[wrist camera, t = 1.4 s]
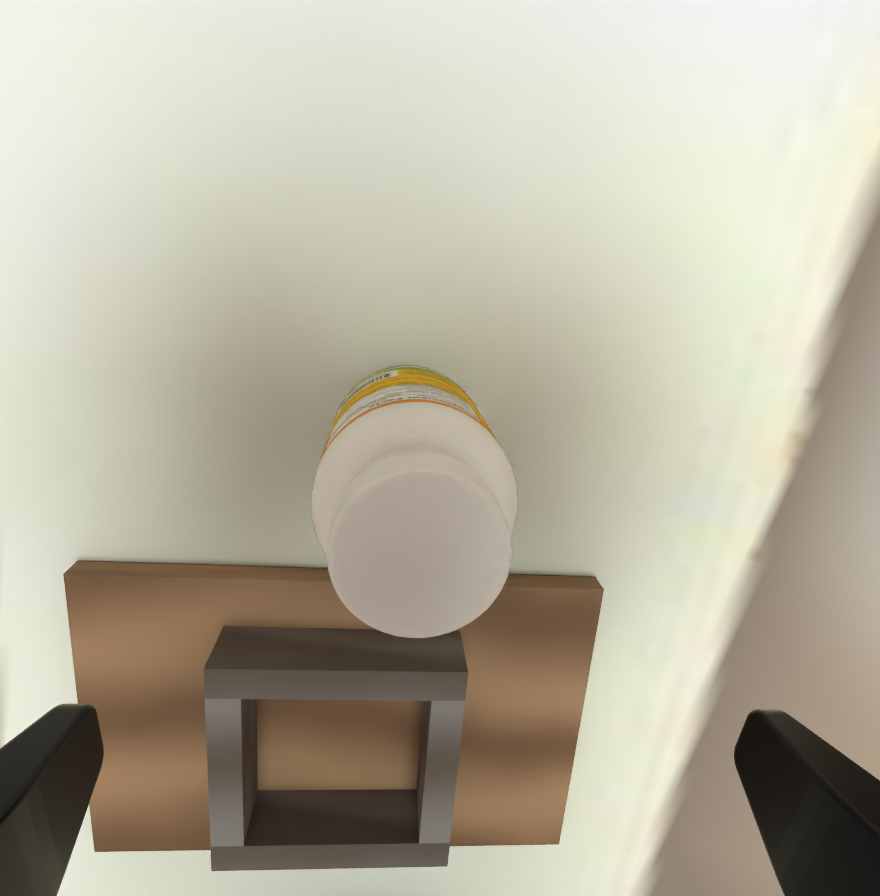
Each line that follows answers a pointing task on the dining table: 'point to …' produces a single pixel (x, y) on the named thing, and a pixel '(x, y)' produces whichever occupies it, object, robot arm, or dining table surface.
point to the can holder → (323, 716)
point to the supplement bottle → (414, 505)
